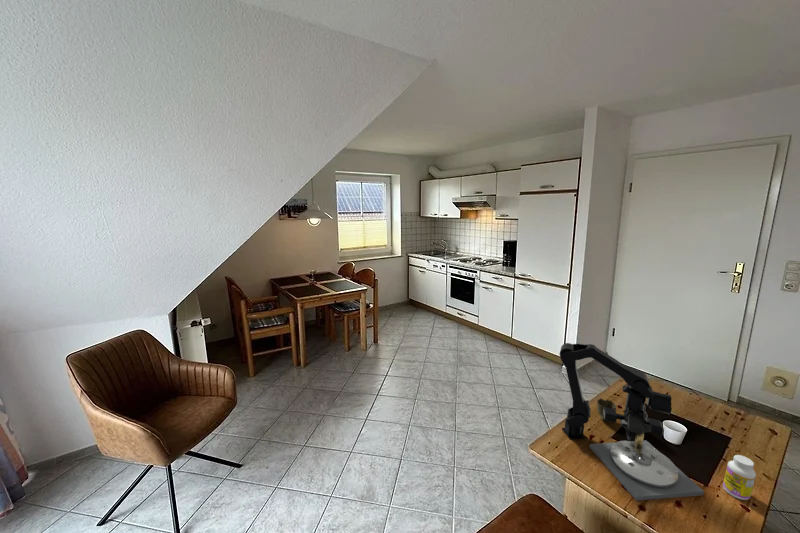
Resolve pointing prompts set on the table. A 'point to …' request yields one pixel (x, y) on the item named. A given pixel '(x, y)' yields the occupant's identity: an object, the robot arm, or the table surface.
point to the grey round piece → (644, 463)
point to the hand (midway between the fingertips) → (628, 439)
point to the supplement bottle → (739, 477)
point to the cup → (602, 404)
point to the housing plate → (641, 490)
